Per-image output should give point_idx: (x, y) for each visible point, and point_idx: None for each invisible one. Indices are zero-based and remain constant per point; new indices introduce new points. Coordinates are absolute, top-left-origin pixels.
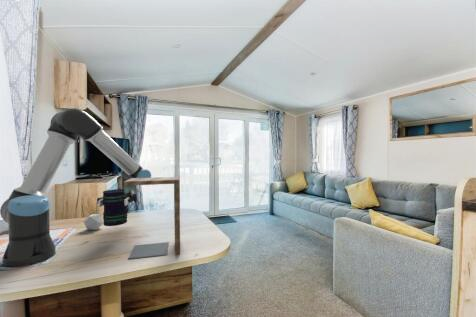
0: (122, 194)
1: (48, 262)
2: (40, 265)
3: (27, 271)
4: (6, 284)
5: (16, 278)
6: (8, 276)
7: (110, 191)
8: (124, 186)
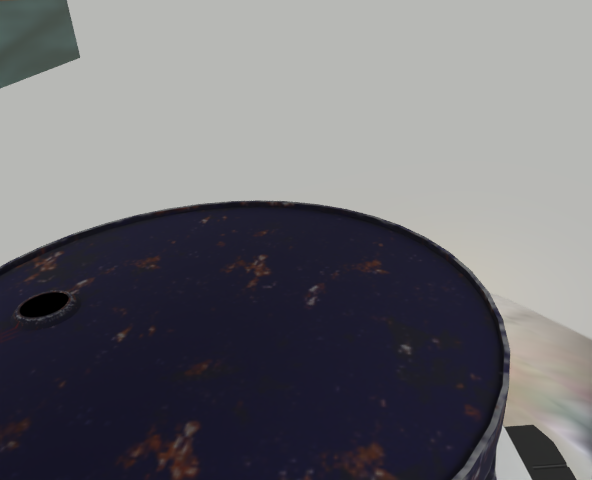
0: (57, 304)
1: (544, 425)
2: (551, 402)
3: (548, 364)
4: (518, 307)
5: (529, 329)
6: (582, 341)
7: (303, 292)
8: (64, 4)
